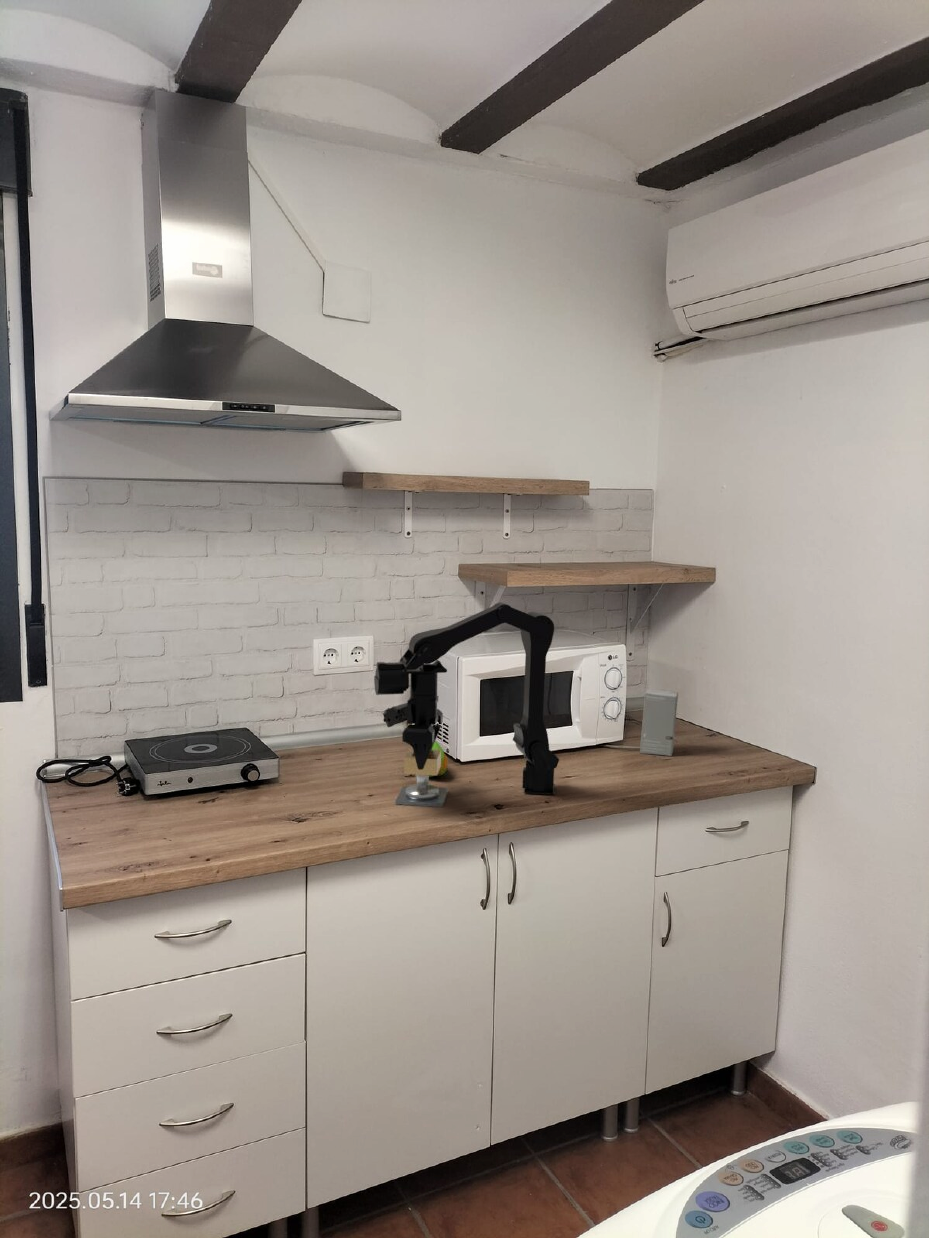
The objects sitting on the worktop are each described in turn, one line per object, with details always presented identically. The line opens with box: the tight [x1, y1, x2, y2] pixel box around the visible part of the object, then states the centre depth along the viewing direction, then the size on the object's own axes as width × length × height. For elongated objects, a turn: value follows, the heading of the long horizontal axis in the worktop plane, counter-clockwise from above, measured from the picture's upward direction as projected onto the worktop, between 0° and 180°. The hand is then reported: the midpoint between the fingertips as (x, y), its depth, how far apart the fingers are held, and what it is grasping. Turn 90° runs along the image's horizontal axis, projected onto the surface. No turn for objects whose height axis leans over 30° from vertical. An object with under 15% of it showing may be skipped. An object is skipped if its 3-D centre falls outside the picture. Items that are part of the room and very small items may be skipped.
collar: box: [403, 748, 441, 776], centre depth 195 cm, size 7×7×4 cm
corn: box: [429, 740, 449, 778], centre depth 216 cm, size 7×8×20 cm
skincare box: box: [639, 688, 679, 757], centre depth 234 cm, size 8×7×16 cm
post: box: [394, 775, 449, 808], centre depth 196 cm, size 10×10×7 cm
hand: (422, 764), depth 195 cm, fingers closed on collar, 7 cm apart
